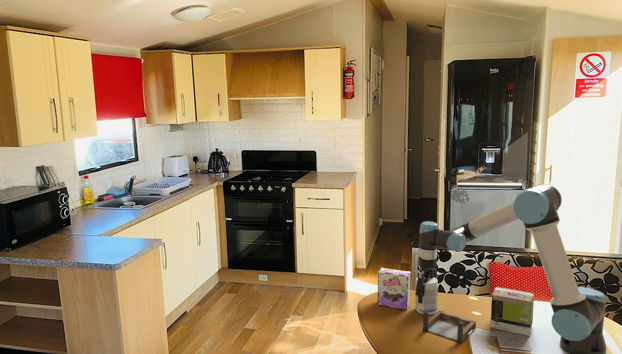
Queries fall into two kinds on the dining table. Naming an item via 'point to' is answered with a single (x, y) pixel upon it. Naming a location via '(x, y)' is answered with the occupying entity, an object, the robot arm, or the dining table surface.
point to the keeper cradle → (448, 326)
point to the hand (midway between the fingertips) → (426, 305)
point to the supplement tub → (429, 297)
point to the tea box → (512, 310)
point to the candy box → (394, 288)
